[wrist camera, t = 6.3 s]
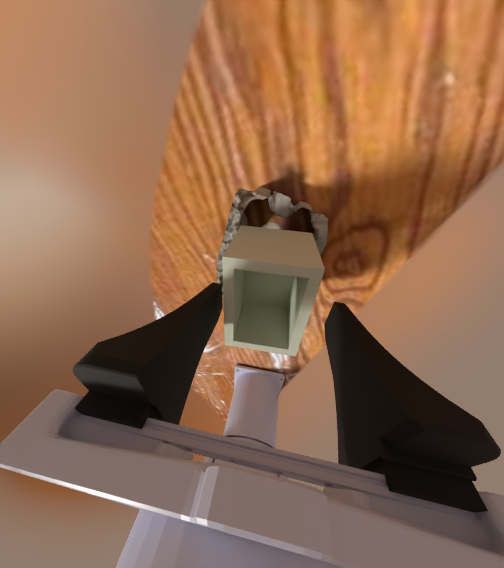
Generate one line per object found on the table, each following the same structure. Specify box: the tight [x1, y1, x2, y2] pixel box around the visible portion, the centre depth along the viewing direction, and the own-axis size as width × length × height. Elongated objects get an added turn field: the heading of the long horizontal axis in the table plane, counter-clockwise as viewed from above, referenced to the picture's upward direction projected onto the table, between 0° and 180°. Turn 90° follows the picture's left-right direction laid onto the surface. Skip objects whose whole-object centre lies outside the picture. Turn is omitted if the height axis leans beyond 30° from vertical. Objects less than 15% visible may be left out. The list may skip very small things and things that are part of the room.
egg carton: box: [217, 187, 328, 295], centre depth 16 cm, size 11×8×4 cm
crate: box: [222, 225, 325, 356], centre depth 13 cm, size 7×5×5 cm
